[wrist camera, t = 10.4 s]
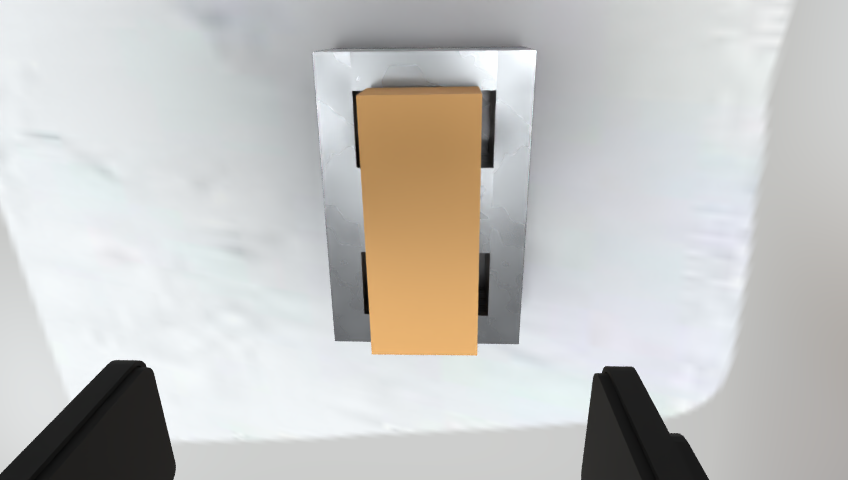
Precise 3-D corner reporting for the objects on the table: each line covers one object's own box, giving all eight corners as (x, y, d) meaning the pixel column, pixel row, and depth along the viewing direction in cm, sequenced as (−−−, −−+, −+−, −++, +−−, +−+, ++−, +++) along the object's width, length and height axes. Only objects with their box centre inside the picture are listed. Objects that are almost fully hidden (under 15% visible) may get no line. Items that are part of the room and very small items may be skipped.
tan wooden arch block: (378, 80, 28) (356, 95, 22) (474, 78, 28) (482, 93, 21) (387, 289, 33) (372, 354, 26) (471, 289, 32) (477, 355, 26)
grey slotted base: (332, 48, 29) (312, 52, 25) (523, 47, 28) (536, 50, 24) (349, 302, 34) (335, 341, 30) (510, 304, 34) (518, 344, 29)
